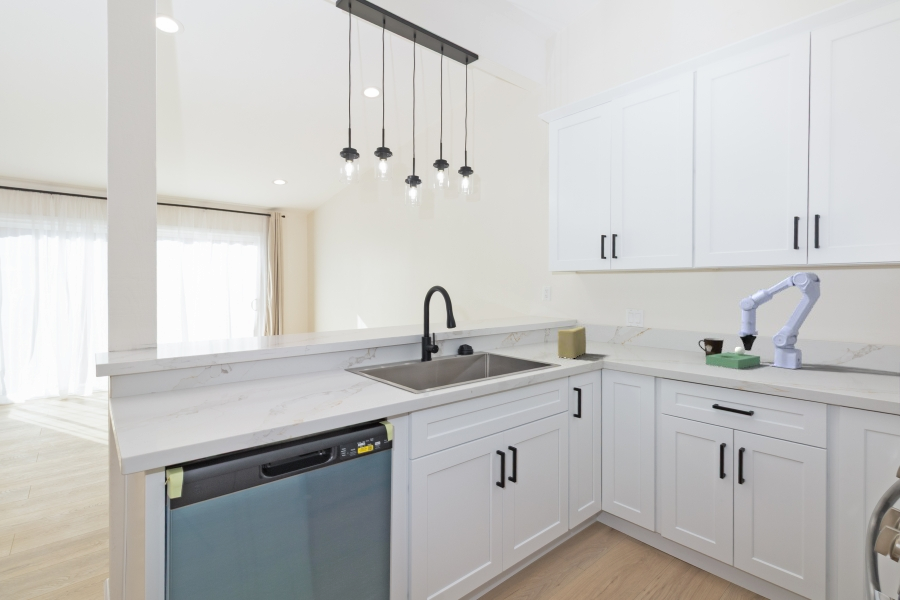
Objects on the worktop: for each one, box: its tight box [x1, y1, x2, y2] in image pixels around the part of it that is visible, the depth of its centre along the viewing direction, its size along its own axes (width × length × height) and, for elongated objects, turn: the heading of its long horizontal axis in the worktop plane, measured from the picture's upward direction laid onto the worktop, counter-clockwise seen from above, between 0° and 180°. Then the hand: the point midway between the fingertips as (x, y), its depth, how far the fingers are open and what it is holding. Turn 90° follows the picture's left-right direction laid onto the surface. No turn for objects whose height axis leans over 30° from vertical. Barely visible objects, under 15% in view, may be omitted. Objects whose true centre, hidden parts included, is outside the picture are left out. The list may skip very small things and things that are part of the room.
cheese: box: [557, 326, 587, 359], centre depth 227 cm, size 22×10×15 cm, turn 137°
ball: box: [734, 346, 746, 355], centre depth 203 cm, size 4×4×4 cm
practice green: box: [705, 351, 761, 370], centre depth 200 cm, size 20×14×4 cm
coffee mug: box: [697, 337, 724, 357], centre depth 218 cm, size 12×9×10 cm
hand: (747, 350), depth 207 cm, fingers closed
